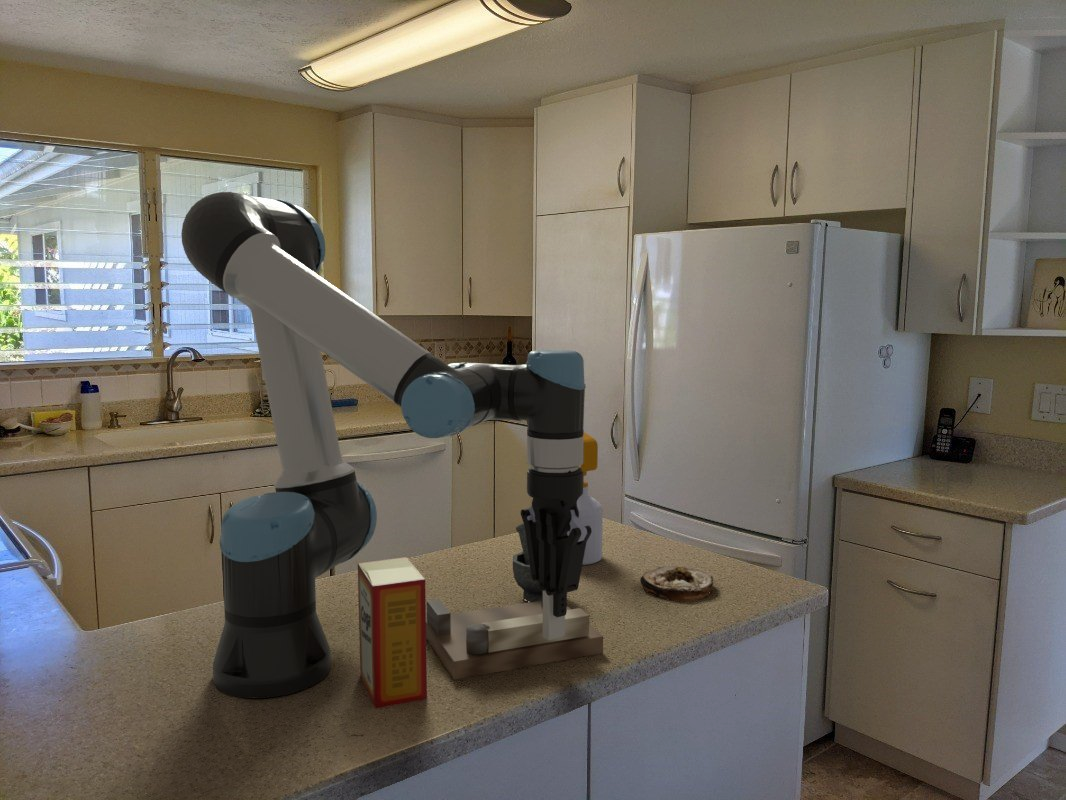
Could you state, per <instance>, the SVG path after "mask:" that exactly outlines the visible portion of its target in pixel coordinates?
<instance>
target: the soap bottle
mask: <svg viewBox="0 0 1066 800" xmlns="http://www.w3.org/2000/svg"><path fill="white" fill-rule="evenodd" d="M598 446H599V445H598V442H597V440H596V439H595V438H594V437H593V436H591V435H590V434H588V433H587V432H585V431H584V435H583V464H582V465H581V466H579V467H580V468H582V470H583V494H582V495H581V496H580V497H579V498H578V500H577V507H578V511H579V518H578V519H579V520H580V522H581V523H582V525H583V526H590V527H591V530H592V532H591V535H590V537H589V538H588V540H587V542H586V547H585V553H584V558H583V564H582V566H588V565H593V564H596V563H598V562H600V561H601V560H602V558H603V528H604V527H603V526H604V525H603V524H604V522H603V518H604V517H603V516H604V513H603V511H604V509H603V507H602V505H601V502H599V501H598V500H597V499H596V498H594V497H592V496H591V495H589V485H588V484H589V483H588V482H587V481H585V480H584V479H585V476H587V472H590V471H595V470H597V468H598V458H599V457H598V450H599V449H598V448H599V447H598Z"/></svg>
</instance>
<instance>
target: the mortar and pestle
mask: <svg viewBox="0 0 1066 800" xmlns="http://www.w3.org/2000/svg"><path fill="white" fill-rule="evenodd" d="M515 530H516V532H517V533H518V537H519V540H520V544H521V548H522V549H521V550H522V551H521V552H519V553H516V554H513V555H512V573H513V578H514V580H515V582H516V584H517V585H518V587H519V588H521V589H522V590H523V596H522V599H523V598H524V599H526V600H527V601H530V602H535V601H541V599H542V589H541V588H540V587H539V582H538V581H537V580H535V581H534V580H533V579H532V577H531V571H530V563H529V555H528V548H527V540H526V532H525V526H524V523H523V522H522V523H520V524H518V525H516V526H515ZM538 571H539V569H538Z"/></svg>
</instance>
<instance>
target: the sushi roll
mask: <svg viewBox="0 0 1066 800" xmlns="http://www.w3.org/2000/svg"><path fill="white" fill-rule="evenodd" d="M640 584H641V588H642V587H643V588H642V590H643V589H644V590H643V591H646V592H647V591H648V592H647V593H648V594H649V593H651V594H650V595H652V594H653V595H652V596H655V595H656V596H655V597H659V596H662V597H661V598H663V597H665V598H664V599H667V598H669V599H670V600H669V599H667V600H669V601H679V600H680V601H679V602H682V601H683V600H689V601H694V600H693V599H695V600H700V599H703V598H702V597H704V596H705V597H709V598H711V597H710V596H709V595H710V593H709V592H710V591H711V592H712V589H711V588H712V587H713V586H714V577H713V575H711V574H709V573H707V572H706V571H704V570H700V569H696V568H690V567H688V566H677V565H665V566H660V567H659V566H658V567H656V568H653V569H651V570H648V571H646V572H644V573H643V575H642V576H641V577H640ZM699 598H700V599H699ZM667 600H666V601H667ZM683 602H684V601H683Z"/></svg>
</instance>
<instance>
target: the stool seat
mask: <svg viewBox="0 0 1066 800" xmlns="http://www.w3.org/2000/svg"><path fill="white" fill-rule="evenodd" d="M541 602H542V601H535V602H529V603H528V602H522V603H516V604H509V605H503V606H501V605H500V606H496V607H495V606H494V607H489V608H482V609H475V610H467V611H462V612H455V613H451V612H450V611H449V609H448V608H447V607H446V605H444V603H443V602H442V600H441V599H440V598H437V599H429V600H426V641H427V642H428V643H429V642H430V643H429V644H430V646H431V645H432V646H431V647H432V649H433V648H434V649H433V651H434V652H435V653H436V654H437V656H438V658H439V659H440V660H441V662H442V664H443V665H444V667H445V668H446V669H447V671H448V672H449V674H450V676H451V677H452V678H453V680H460V679H465V678H471V677H476V676H482V675H488V674H493V673H498V672H504V671H510V670H515V669H521V668H527V667H532V665H533V666H538V664H539V665H543V664H545V665H546V664H549V663H555V662H554V661H556V662H561V660H562V661H566V660H572V658H573V659H577V658H583V656H584V657H589V656H593V655H599V654H600V653H601V654H604V635H602V634H601V633H600V632H599V631H597V629H595V628H594V627H593V626H591V625H590V624H589V636H585V637H579V638H573V639H567V640H561V641H555V642H549V643H543V644H537V645H531V646H525V647H519V648H513V649H507V650H501V651H495V652H487V653H484V654H471V653H468V652H467V651H466V628H467V626H469V625H472V624H482V623H486V622H492V621H499V620H505V619H512V618H518V617H525V616H531V615H538V614H543V610H542V606H541ZM567 610H571V608H570V607H569V606H568V605H567Z"/></svg>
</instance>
